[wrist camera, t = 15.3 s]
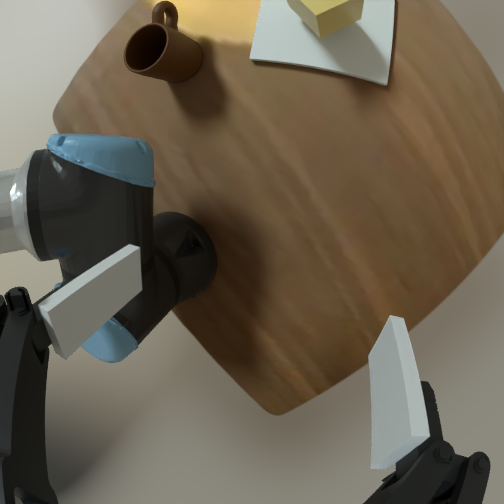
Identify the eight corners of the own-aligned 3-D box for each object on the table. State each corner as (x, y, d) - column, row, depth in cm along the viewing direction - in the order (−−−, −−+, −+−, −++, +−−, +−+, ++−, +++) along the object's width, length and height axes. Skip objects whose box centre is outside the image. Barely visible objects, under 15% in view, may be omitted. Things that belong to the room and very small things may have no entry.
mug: (171, 20, 30) (136, 2, 21) (214, 15, 28) (183, -10, 20) (158, 84, 35) (118, 76, 26) (200, 83, 33) (163, 71, 25)
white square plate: (251, 60, 30) (228, 40, 23) (269, -24, 23) (252, -53, 16) (385, 86, 27) (400, 70, 19) (393, -4, 20) (403, -33, 12)
